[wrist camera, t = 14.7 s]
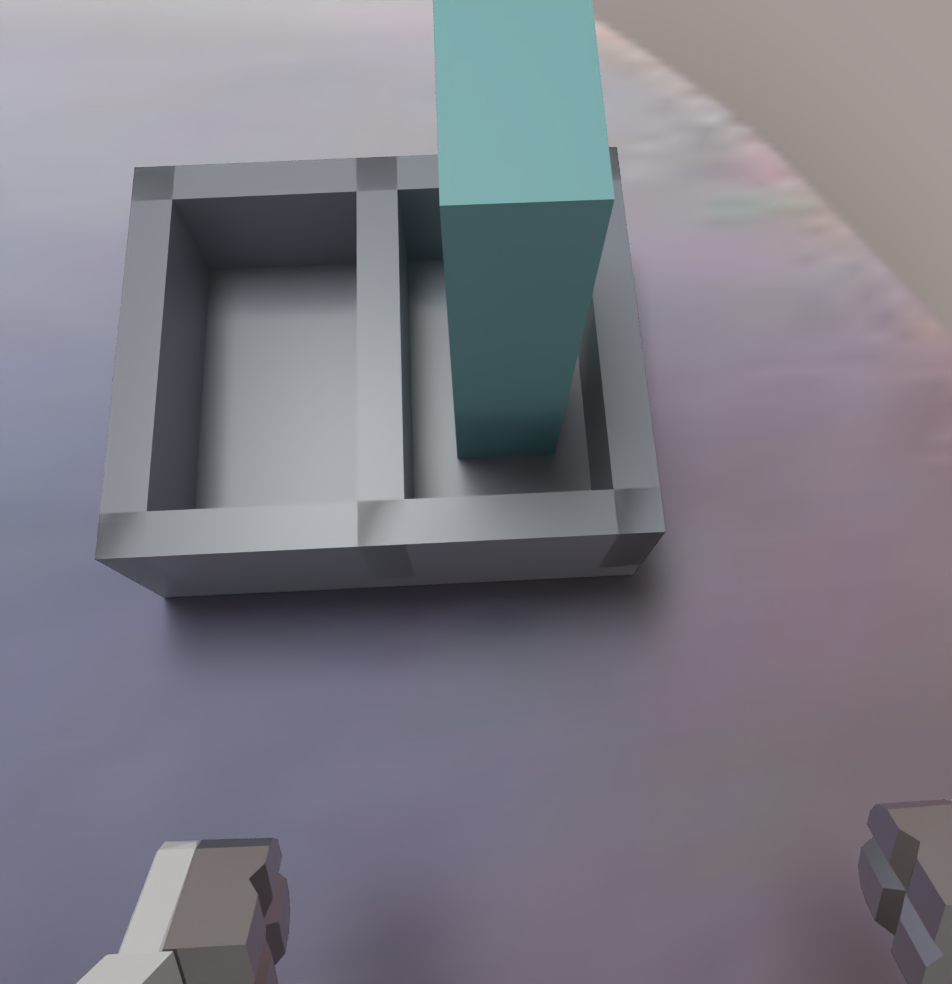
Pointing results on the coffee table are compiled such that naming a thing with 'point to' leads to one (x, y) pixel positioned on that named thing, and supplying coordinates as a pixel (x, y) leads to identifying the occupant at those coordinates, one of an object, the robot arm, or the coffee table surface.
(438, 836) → the coffee table surface
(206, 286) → the box
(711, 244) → the coffee table surface
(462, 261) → the teal block
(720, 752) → the coffee table surface
